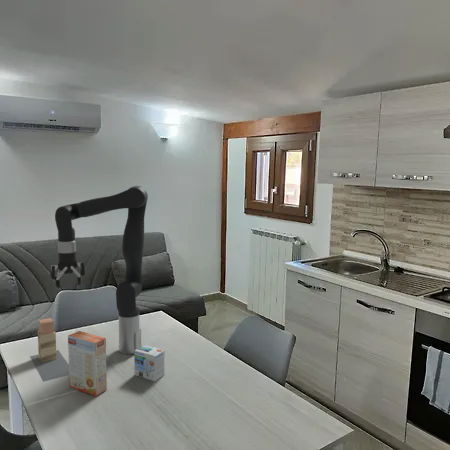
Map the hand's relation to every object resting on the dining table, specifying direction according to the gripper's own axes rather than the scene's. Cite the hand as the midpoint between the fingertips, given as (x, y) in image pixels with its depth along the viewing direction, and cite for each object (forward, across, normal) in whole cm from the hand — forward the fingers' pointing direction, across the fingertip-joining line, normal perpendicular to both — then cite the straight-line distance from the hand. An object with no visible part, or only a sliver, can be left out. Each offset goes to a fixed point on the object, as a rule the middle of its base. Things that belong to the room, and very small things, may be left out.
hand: (68, 286), depth 192 cm
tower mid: (+24, +11, +4) cm, 26 cm away
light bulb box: (+30, -20, +40) cm, 54 cm away
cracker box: (+30, +4, +38) cm, 48 cm away
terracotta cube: (+18, +11, +4) cm, 21 cm away
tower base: (+30, +11, +4) cm, 32 cm away
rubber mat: (+30, +11, +11) cm, 34 cm away
